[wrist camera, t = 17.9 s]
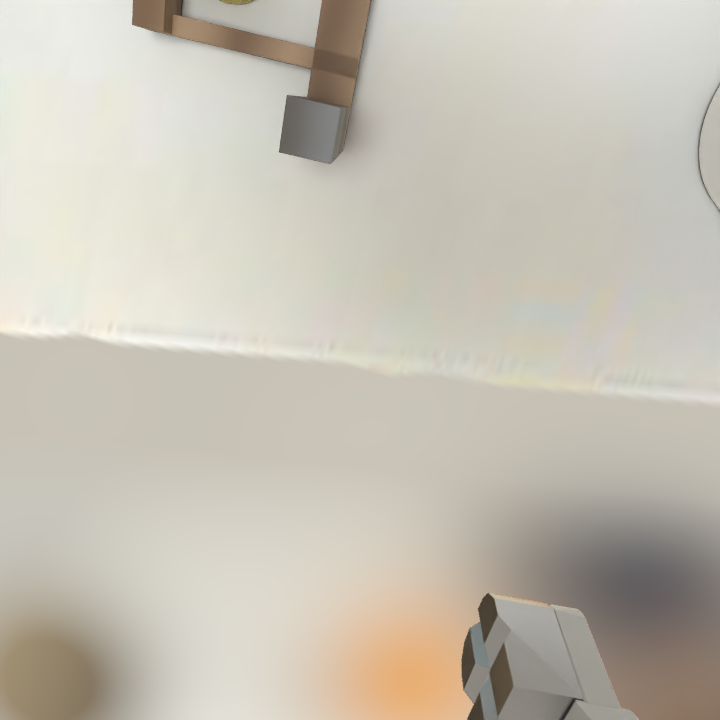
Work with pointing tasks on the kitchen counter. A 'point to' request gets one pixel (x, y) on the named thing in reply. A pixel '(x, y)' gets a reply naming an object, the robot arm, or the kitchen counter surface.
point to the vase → (236, 1)
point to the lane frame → (327, 60)
